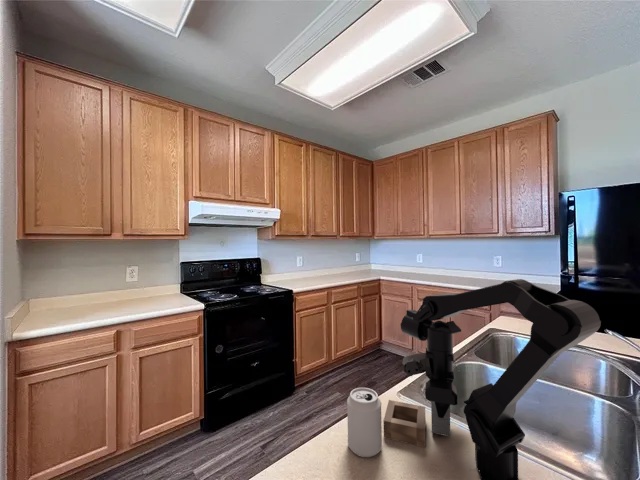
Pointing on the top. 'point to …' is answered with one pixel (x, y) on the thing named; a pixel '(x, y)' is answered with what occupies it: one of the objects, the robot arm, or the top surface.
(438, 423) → the peg
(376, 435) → the can
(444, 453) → the top surface
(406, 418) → the socket
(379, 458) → the top surface
